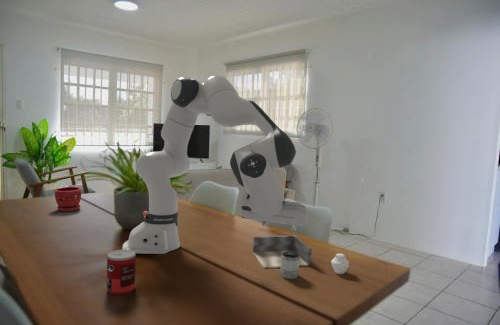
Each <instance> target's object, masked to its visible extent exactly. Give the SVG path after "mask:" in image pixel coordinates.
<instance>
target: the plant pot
mask: <svg viewBox="0 0 500 325" xmlns="http://www.w3.org/2000/svg"><path fill="white" fill-rule="evenodd" d="M54 199H55V202H56V204H57V207H56V209H57V210H58V211H61V212H72V211H77V210H79V209H80V208H81V204H80V202H81V199H82V188H81V187H79V186H65V187H64V186H63V187H59V188H55V189H54Z"/></svg>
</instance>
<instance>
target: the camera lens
mask: <svg viewBox="0 0 500 325" xmlns="http://www.w3.org/2000/svg"><path fill="white" fill-rule="evenodd" d="M299 259H300V257H299V255H298V254H297V253H295V252H284V253H282V255H281V268H280V270H279V271H280V277H282V278H284V279H288V280H294V279H295V280H296V279H297V278H298V276H299V272H300V267H299Z"/></svg>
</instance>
